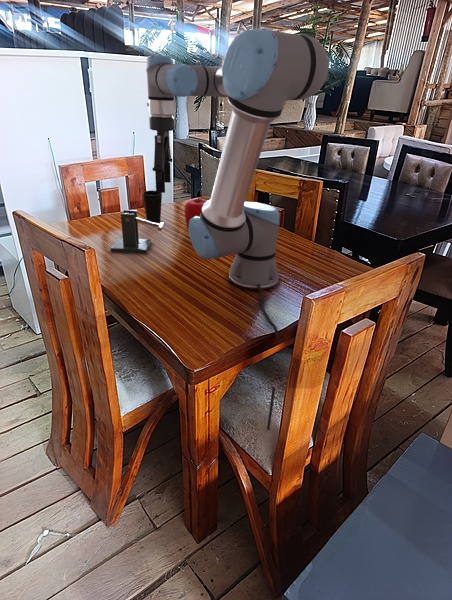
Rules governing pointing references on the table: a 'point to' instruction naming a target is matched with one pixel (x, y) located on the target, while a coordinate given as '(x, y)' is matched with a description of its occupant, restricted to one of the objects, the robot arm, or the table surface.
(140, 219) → the switch lever
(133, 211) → the stand
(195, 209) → the apple
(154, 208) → the cup
